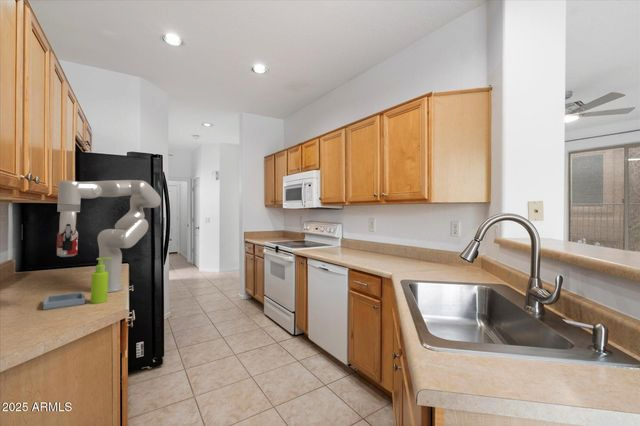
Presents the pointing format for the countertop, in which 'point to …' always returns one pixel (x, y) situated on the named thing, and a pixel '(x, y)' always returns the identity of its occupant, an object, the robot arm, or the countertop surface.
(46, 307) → the slate tray
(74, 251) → the soda can
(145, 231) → the robot arm
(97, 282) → the soap dispenser
